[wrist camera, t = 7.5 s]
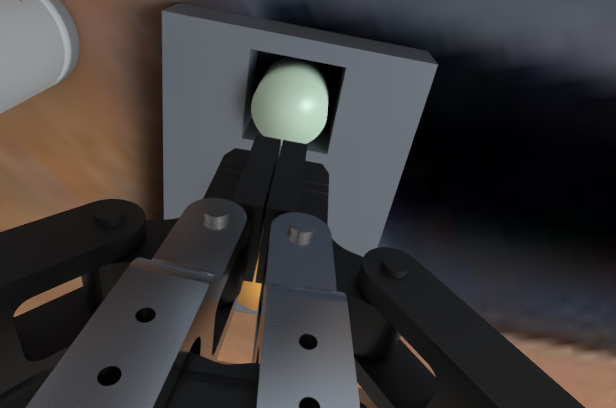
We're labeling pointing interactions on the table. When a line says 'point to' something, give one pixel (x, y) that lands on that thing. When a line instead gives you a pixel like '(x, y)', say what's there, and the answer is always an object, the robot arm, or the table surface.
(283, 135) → the sage button
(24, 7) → the travel mug
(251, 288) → the orange button
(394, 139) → the button panel
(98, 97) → the table surface
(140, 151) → the table surface
